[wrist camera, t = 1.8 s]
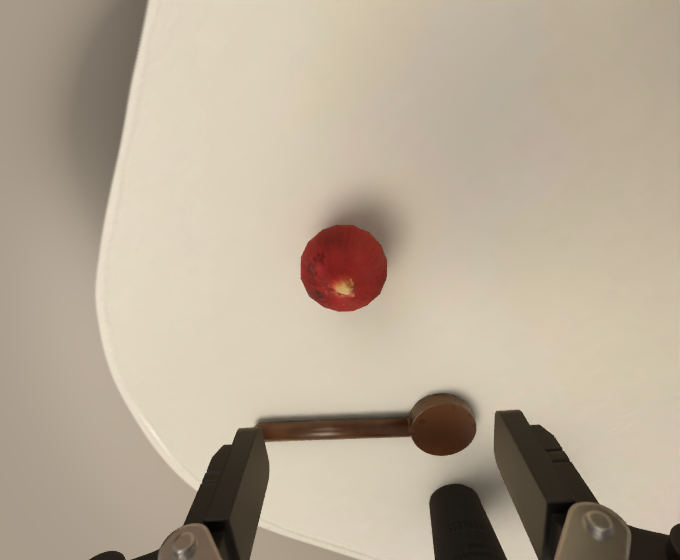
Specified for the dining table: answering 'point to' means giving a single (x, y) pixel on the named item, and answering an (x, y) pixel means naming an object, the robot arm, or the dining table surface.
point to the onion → (343, 268)
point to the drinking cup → (462, 526)
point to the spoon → (392, 427)
